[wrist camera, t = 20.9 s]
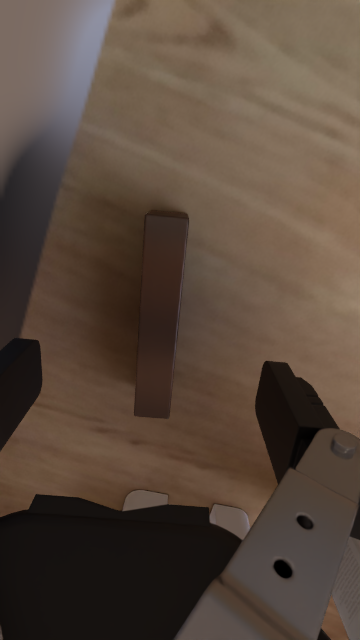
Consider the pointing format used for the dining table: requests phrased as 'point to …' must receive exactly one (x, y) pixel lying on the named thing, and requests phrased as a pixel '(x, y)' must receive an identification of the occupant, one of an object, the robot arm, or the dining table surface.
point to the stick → (159, 310)
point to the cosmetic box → (349, 589)
